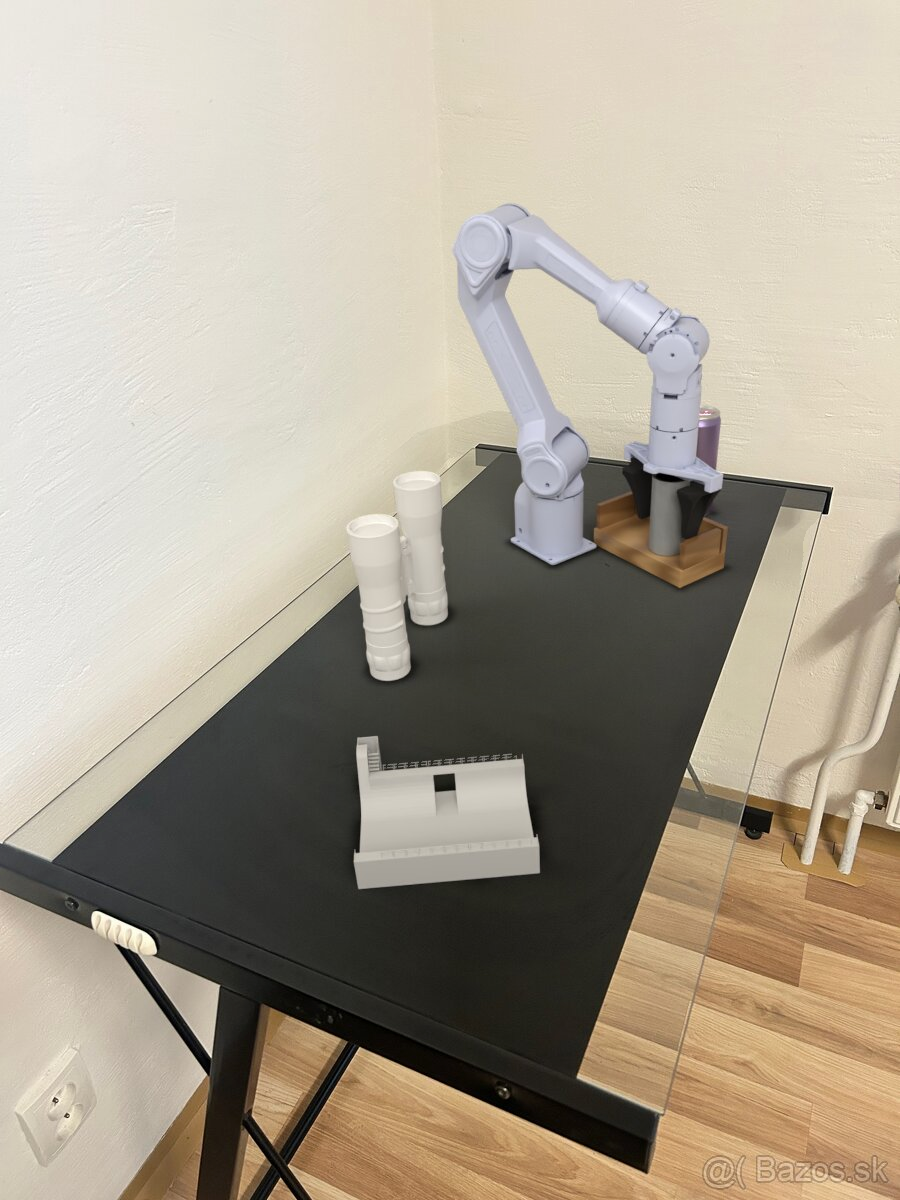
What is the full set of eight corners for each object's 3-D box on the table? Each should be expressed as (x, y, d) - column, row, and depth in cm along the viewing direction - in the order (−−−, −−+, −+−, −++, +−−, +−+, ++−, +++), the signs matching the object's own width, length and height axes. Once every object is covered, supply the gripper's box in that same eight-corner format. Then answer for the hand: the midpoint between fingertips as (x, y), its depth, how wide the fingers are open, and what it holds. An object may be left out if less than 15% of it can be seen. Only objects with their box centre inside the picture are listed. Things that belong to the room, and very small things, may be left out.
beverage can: (713, 520, 125) (723, 419, 118) (670, 519, 127) (677, 418, 119) (711, 502, 130) (720, 404, 123) (669, 501, 132) (676, 404, 124)
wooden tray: (593, 543, 122) (594, 504, 119) (635, 526, 125) (637, 488, 122) (679, 588, 110) (683, 546, 107) (723, 568, 114) (728, 527, 111)
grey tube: (663, 559, 112) (668, 484, 106) (641, 546, 115) (644, 473, 110) (691, 550, 113) (698, 476, 108) (668, 537, 117) (673, 464, 111)
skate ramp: (358, 889, 72) (350, 845, 70) (363, 779, 84) (357, 737, 81) (539, 873, 73) (538, 828, 70) (520, 765, 84) (519, 723, 81)
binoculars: (417, 601, 112) (404, 468, 102) (457, 606, 110) (447, 472, 100) (358, 678, 98) (336, 534, 89) (403, 686, 96) (385, 539, 87)
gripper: (607, 417, 109) (604, 516, 116) (696, 449, 98) (687, 556, 105) (648, 404, 112) (643, 501, 119) (739, 433, 102) (728, 538, 109)
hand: (667, 526), depth 113 cm, fingers open, 7 cm apart
